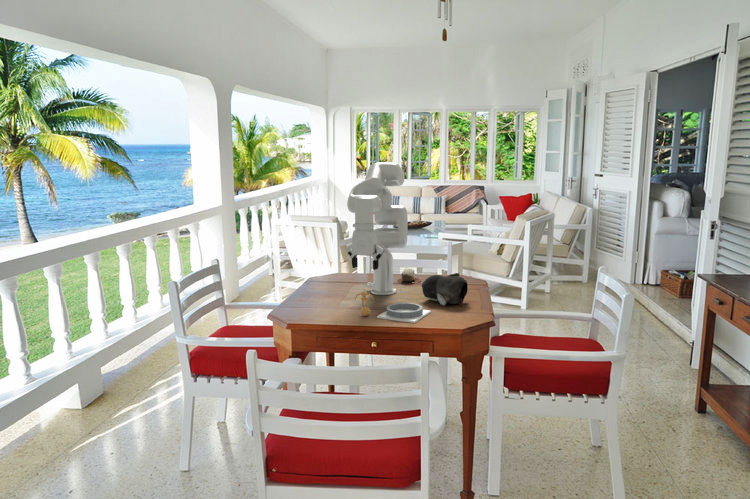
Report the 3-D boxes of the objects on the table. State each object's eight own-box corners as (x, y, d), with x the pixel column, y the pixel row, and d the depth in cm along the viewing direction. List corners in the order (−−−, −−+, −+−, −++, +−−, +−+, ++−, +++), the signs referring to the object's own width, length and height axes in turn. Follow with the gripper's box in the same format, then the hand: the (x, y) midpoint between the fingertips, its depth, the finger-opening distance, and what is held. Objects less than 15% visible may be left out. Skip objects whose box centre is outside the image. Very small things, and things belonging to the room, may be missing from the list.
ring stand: (377, 317, 237) (377, 310, 236) (395, 307, 252) (395, 300, 251) (414, 323, 229) (414, 315, 229) (431, 312, 244) (431, 304, 243)
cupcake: (399, 276, 310) (412, 263, 306) (413, 289, 308) (425, 276, 305) (392, 280, 299) (405, 266, 295) (406, 294, 297) (419, 280, 293)
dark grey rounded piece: (459, 319, 251) (457, 296, 244) (415, 311, 260) (411, 289, 252) (472, 291, 265) (470, 268, 258) (429, 285, 274) (426, 262, 267)
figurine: (375, 314, 241) (375, 287, 239) (373, 319, 236) (373, 290, 234) (356, 314, 243) (356, 286, 241) (353, 318, 237) (353, 290, 235)
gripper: (341, 227, 234) (342, 268, 236) (378, 229, 226) (379, 271, 228) (350, 225, 240) (351, 265, 243) (387, 227, 232) (387, 268, 235)
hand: (365, 268), depth 236 cm, fingers open, 9 cm apart
